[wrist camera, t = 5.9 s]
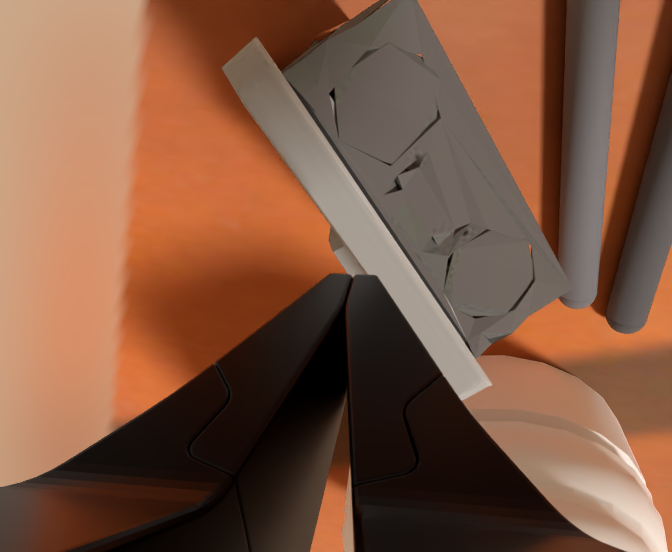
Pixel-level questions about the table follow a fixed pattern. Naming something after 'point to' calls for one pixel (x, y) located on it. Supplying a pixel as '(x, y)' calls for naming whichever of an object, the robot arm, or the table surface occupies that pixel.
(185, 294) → the table surface
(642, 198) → the cord
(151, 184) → the table surface
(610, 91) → the cord
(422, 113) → the electrical switch
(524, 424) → the honey pot
